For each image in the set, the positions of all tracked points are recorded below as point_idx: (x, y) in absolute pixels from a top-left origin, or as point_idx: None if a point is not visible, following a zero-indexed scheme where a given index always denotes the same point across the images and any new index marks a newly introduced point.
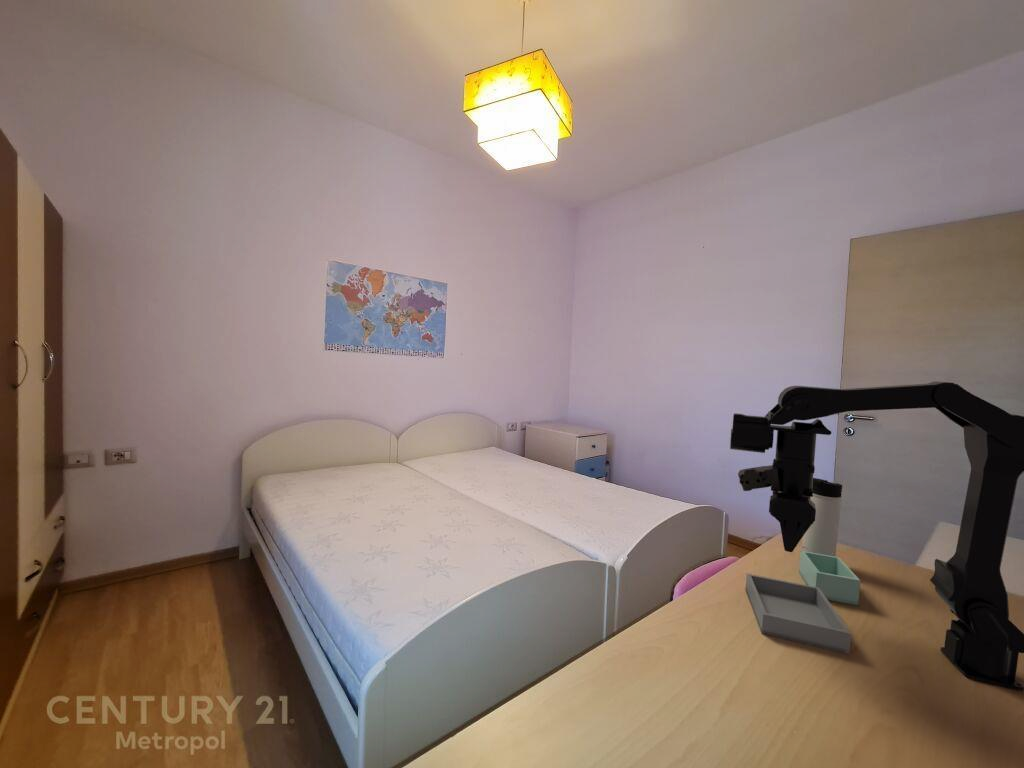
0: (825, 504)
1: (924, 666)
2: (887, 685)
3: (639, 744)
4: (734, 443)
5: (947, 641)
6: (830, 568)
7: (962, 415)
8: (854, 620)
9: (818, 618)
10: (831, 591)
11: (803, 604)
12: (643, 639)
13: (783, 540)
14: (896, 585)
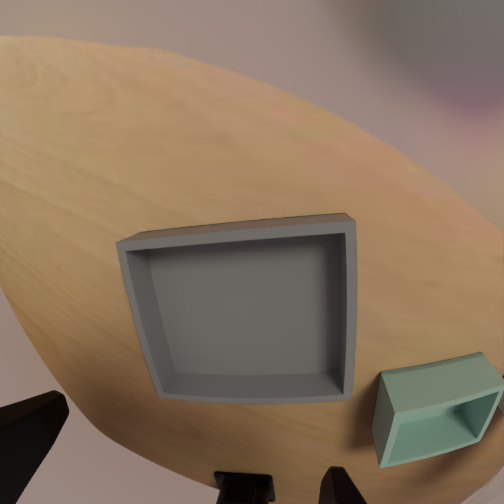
0: None
1: (212, 447)
2: (128, 389)
3: None
4: None
5: (243, 491)
6: (470, 414)
7: None
8: (308, 415)
9: (263, 362)
10: (381, 409)
11: (316, 347)
12: (44, 52)
13: (10, 405)
14: (452, 464)
